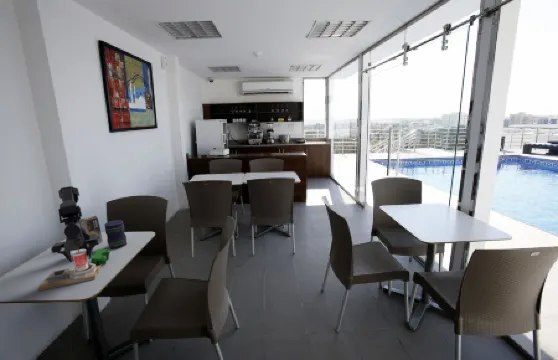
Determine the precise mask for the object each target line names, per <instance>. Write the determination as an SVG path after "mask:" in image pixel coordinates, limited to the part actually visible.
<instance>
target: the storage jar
mask: <svg viewBox="0 0 558 360" xmlns="http://www.w3.org/2000/svg"><path fill="white" fill-rule="evenodd" d="M104 231H105V234H106V237H107V240H106V241H107V245H108V249H109V250H118V249H119V250H120V249H122V248H124V247H126V246H128V242H127V236H126V233H125V225H124V220H123V219H116V220H115V219H114V220H111V221H107V222H105V223H104Z"/></svg>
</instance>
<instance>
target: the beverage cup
mask: <svg viewBox="0 0 558 360" xmlns="http://www.w3.org/2000/svg"><path fill="white" fill-rule="evenodd" d="M86 252H87V250H86V249H79V248H78V250H76V251H71V252H70V253H71V257H72V261H73V262H74V266H75V267H76V269H77V271H83V270H85V269H87V268H88V263H89V262H88V255H87V254H86Z"/></svg>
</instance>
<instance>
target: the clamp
mask: <svg viewBox="0 0 558 360" xmlns="http://www.w3.org/2000/svg"><path fill="white" fill-rule="evenodd" d="M110 254H111V249H109V248H108V249H107V248H105V249H104V248H98V249H97V250H96V251H95V253H93V254H92V255H93V256H91V259H90V263H93V264H96V265H106V264H107V261H108V260H109V257H110Z"/></svg>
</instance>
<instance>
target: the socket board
mask: <svg viewBox="0 0 558 360" xmlns="http://www.w3.org/2000/svg"><path fill="white" fill-rule="evenodd" d="M101 269H102V264H98V265H96V264H93V263H91V262H88V268H87V269H85V270H83V271H77V269H76V266H75V267H72V268H71V270H70V268H63V269H58V270H54V271H52V272H51V273H50V274H48V276H46V278H45V279H44V281H42V283H41V284H40V285H39V286H38V287H37V290H38V291H44V290H49V289H54V288H59V287H64V286H69V285H70V286H71V285H73V284H79V283H84V282H88V281H92V280H96V278H97V277H98V274H99V273H100V271H101Z"/></svg>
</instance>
